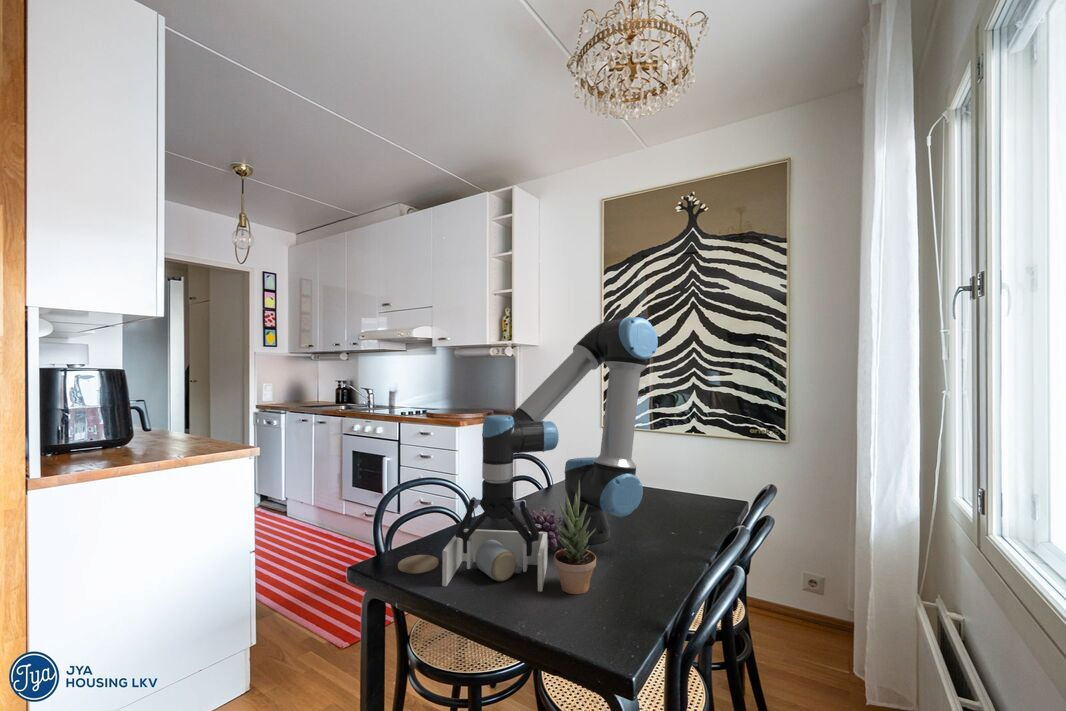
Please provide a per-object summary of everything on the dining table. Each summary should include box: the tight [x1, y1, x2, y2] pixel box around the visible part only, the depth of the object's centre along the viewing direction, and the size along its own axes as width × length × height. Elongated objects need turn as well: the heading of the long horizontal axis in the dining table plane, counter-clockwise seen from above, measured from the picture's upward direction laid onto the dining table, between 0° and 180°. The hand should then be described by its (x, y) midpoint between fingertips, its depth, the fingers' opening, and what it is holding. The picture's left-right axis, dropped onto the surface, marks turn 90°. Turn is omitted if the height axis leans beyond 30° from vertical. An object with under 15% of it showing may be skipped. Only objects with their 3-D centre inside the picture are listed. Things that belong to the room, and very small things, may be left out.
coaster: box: [397, 554, 439, 575], centre depth 118 cm, size 10×10×1 cm
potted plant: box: [553, 480, 597, 595], centre depth 106 cm, size 10×10×25 cm
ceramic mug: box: [475, 539, 523, 582], centre depth 113 cm, size 11×8×8 cm
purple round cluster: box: [523, 507, 563, 552], centre depth 127 cm, size 12×12×12 cm
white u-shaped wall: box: [441, 528, 548, 592], centre depth 113 cm, size 23×15×8 cm, turn 84°
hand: (497, 568), depth 112 cm, fingers open, 13 cm apart
